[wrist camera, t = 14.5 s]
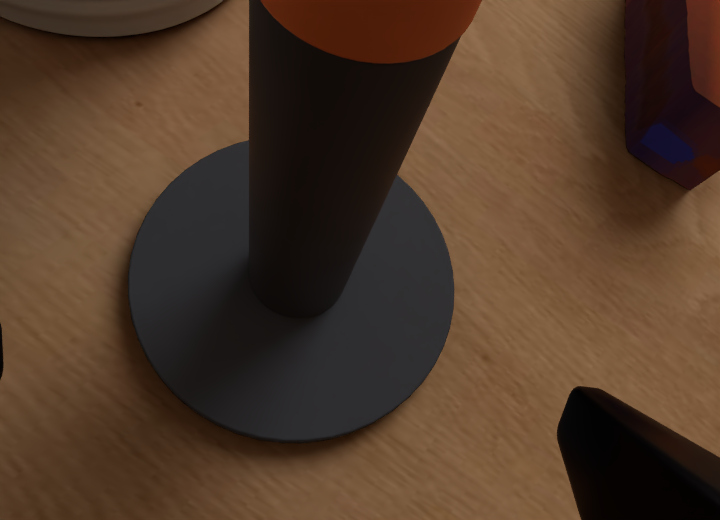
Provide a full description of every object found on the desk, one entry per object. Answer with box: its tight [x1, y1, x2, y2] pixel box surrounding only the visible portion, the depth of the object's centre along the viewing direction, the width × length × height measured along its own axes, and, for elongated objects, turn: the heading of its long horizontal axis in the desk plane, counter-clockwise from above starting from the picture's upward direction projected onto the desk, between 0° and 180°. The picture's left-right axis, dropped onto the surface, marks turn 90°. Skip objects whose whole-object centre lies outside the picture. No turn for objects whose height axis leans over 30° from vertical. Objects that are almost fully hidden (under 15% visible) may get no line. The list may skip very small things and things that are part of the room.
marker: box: [249, 0, 482, 318], centre depth 12 cm, size 3×3×13 cm
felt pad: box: [128, 141, 454, 443], centre depth 18 cm, size 10×10×1 cm
